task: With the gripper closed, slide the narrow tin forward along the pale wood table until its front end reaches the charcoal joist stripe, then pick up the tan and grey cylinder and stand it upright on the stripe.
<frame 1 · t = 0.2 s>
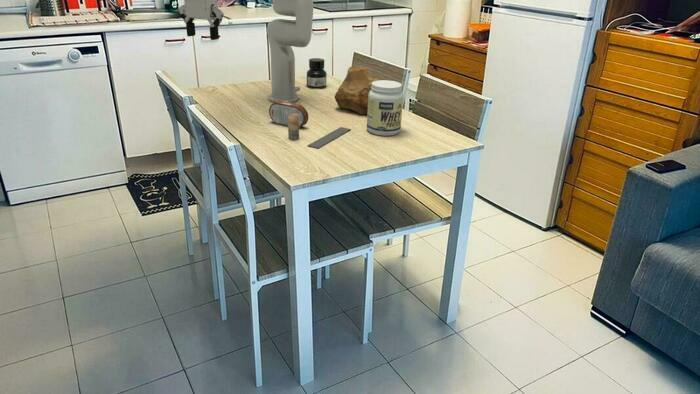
hand: (202, 37, 170), 31 cm above the table, tool pointing down, fingers open, 9 cm apart
supplement tub: (383, 131, 189), on the table
rough brown rock: (355, 109, 211), on the table
tan and grey cylinder: (293, 138, 178), on the table
joist stripe: (330, 137, 180), on the table
ink bottle: (316, 87, 240), on the table
tin: (288, 126, 190), on the table
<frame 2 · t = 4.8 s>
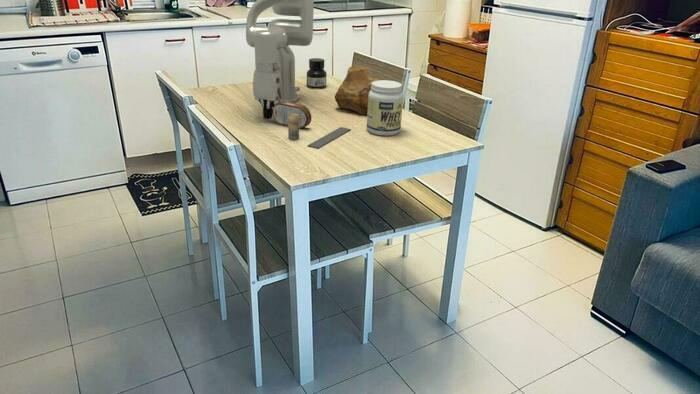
hand: (267, 117, 193), 1 cm above the table, tool pointing down, fingers closed
tin: (291, 126, 190), on the table, touching gripper
everything else where it was.
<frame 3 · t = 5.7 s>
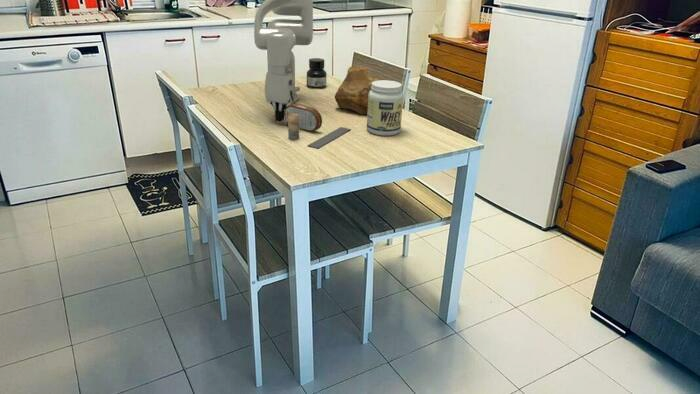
hand: (279, 120, 191), 1 cm above the table, tool pointing down, fingers closed
tin: (302, 129, 187), on the table, touching gripper
everything else where it was.
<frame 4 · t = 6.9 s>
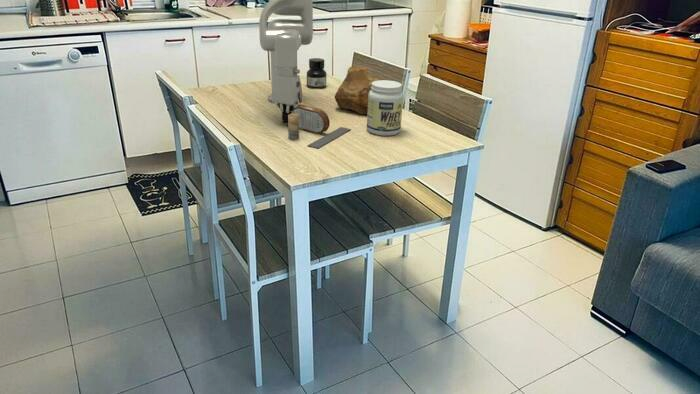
hand: (286, 122, 190), 1 cm above the table, tool pointing down, fingers closed
tin: (309, 131, 186), on the table, touching gripper
everything else where it was.
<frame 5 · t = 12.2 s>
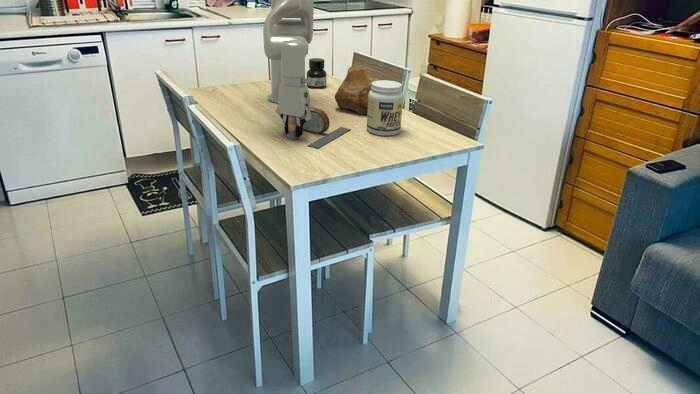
hand: (293, 134, 178), 1 cm above the table, tool pointing down, fingers closed on tan and grey cylinder, 3 cm apart
tan and grey cylinder: (293, 138, 178), on the table, touching gripper
tin: (309, 131, 186), on the table
everything else where it was.
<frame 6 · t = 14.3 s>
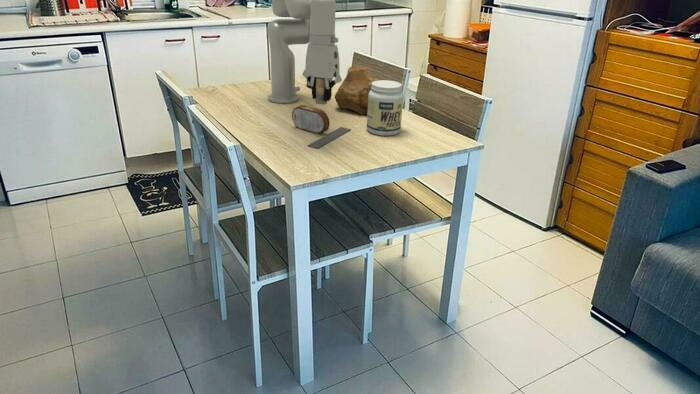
hand: (321, 98, 168), 15 cm above the table, tool pointing down, fingers closed on tan and grey cylinder, 3 cm apart
tan and grey cylinder: (321, 102, 169), point 14 cm above the table, touching gripper
everything else where it was.
when the fingers open (3 cm above the table, at t = 16.7 s): tan and grey cylinder drops 1 cm, resting on joist stripe.
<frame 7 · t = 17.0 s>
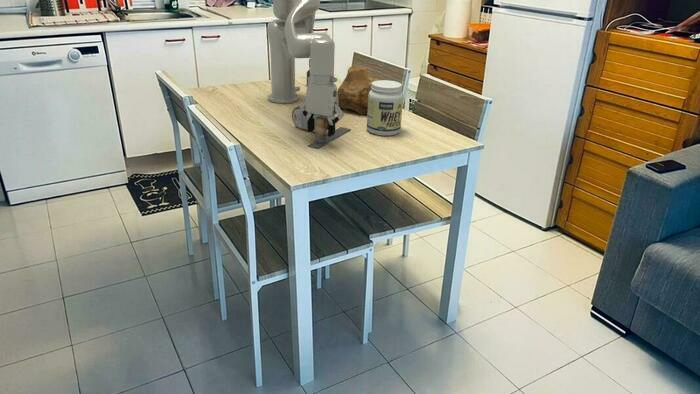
hand: (321, 132, 174), 4 cm above the table, tool pointing down, fingers open, 7 cm apart
tan and grey cylinder: (320, 141, 175), resting on joist stripe
everything else where it was.
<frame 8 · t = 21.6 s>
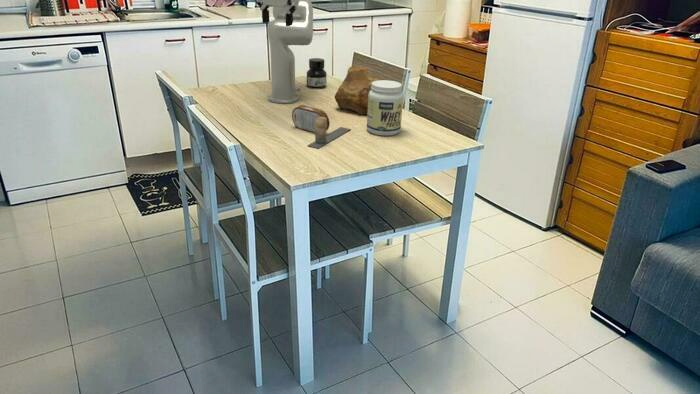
hand: (277, 24, 183), 33 cm above the table, tool pointing down, fingers open, 9 cm apart
nothing on the table moved.
at the end: tin inside the target area (0.9 cm from its centre), on the table; tan and grey cylinder inside the target area on the joist stripe (0.1 cm from its centre), point 0.4 cm above the joist stripe's base; tan and grey cylinder tilted 0° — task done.
